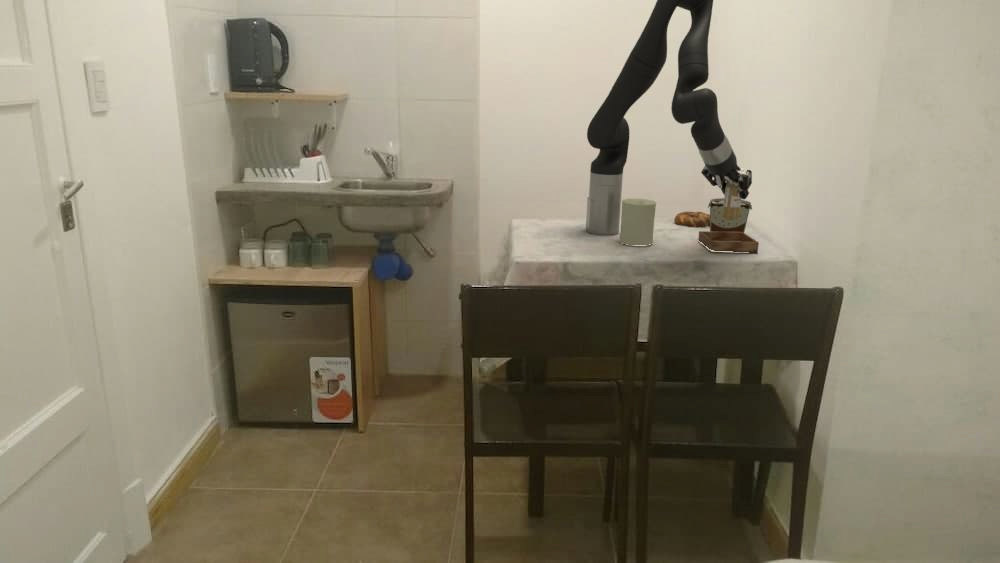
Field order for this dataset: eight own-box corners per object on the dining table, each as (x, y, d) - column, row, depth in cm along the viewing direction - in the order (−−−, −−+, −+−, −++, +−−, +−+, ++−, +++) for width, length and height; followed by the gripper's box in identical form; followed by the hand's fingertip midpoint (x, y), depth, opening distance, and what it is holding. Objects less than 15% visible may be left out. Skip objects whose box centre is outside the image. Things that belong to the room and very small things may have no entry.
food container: (743, 232, 217) (748, 198, 214) (748, 236, 211) (752, 202, 208) (701, 230, 218) (705, 197, 215) (705, 235, 212) (708, 200, 209)
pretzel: (678, 228, 221) (679, 216, 220) (669, 220, 231) (670, 209, 230) (717, 229, 221) (719, 217, 220) (707, 221, 232) (708, 210, 231)
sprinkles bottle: (737, 221, 193) (743, 169, 189) (719, 219, 195) (725, 168, 191) (741, 218, 196) (746, 168, 193) (723, 216, 198) (729, 166, 195)
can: (625, 247, 196) (628, 203, 192) (614, 239, 205) (617, 196, 201) (657, 246, 197) (661, 202, 194) (645, 238, 206) (649, 196, 203)
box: (711, 252, 192) (712, 241, 191) (698, 241, 204) (699, 231, 203) (757, 253, 192) (758, 242, 191) (741, 242, 204) (742, 231, 203)
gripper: (749, 143, 180) (768, 188, 191) (699, 139, 190) (719, 181, 201) (735, 167, 178) (755, 210, 189) (685, 161, 188) (707, 202, 199)
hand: (736, 195), depth 195 cm, fingers closed on sprinkles bottle, 4 cm apart
